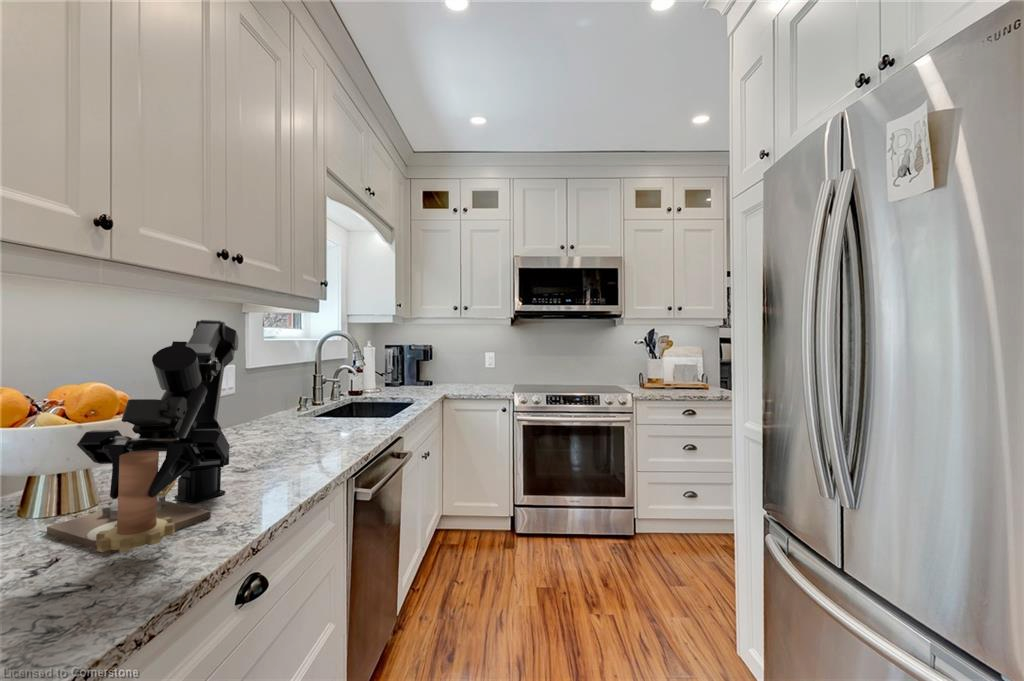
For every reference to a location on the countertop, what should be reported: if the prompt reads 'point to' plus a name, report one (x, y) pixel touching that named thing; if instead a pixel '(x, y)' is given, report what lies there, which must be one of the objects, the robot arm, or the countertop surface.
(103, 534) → the gear spindle
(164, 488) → the shard
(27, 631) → the countertop surface
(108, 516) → the gear board
